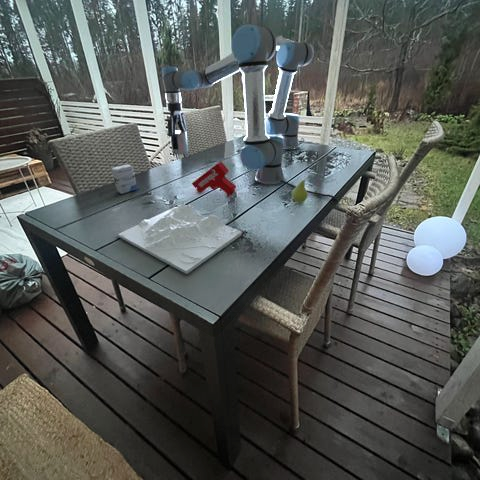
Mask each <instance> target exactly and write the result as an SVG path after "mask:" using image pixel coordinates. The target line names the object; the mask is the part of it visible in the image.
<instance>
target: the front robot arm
mask: <svg viewBox="0 0 480 480" xmlns="http://www.w3.org/2000/svg"><path fill="white" fill-rule="evenodd" d="M275 35H276V33H274V31H273V30H272V29H271V28H269V27H266V26H261V25H256V24H253V23H251V24H243V25H241V26H239V27H238V28H237V29H236V30H235V32H234V34H233V36H232V39H231V53H230V54H229V55H226V56H225V57H223V58H221V59H219V60H218V61H216V62H214V63H213V64H211V65H208V66H207V67H205V68H203V69H201V70H183V71H181V70H180V71H178V67H177V66H163V67H162V68H161V75H162V82H163V88H164V94H165V100H166V109H167V111H168V112H169V115H166V120H167V136H168V137H169V138H170V137H171V139H170V141H171V140H172V146H173V149H176V150H178V145H177V138H176V137H175V134H176V131H177V126H178V128H179V130H183V131H186V133H188V128H187V123H186V119H185V113H184V112H183V111H182V110H183V107H182V106H183V104H182V96H181V90H188V91H192V90H193V91H194V90H196V89H208V88H211V87H213V86H214V84H215V83H218V82H219V81H222V80H224V79H226V78H228V77H230V76H233V75H234V74H236V73H239V72H241V74H242V73H243V82H242V86H243V85H244V92H243V99H244V111H245V112H244V114H245V129H246V136H245V137H244V138H243V147H242V148H241V150H240V153H239V157H240V161H241V163H242V165H243V166H244V167H245V168H246V169H248V170H251V171H256V172H255V178H254V181H255V183H258V184H259V185H262V186H263V185H264V186H279V185H281V184H285V185H287V186H289V187H292V188H293V189H295V188H296V187H297V185H293V184H292V183H289V182H288V181H285V175H284V172H283V171H284V170H283V167H282V165H283V154H284V153H283V152H284V149H283V145H284V143H283V137H282V135H279V134H277V135H268V134H266V126H265V118H266V100H265V99H266V98H265V97H266V96H265V70H266V69H267V67H268V61H270V60H271V59H272V58H273V57H274V56H275V54H276V53H277V50H276V49H277V39H276V36H275ZM172 146H171V147H172ZM306 190H307V189H306ZM307 192H308V194H312V195H317V196H321V197H325V198H326V197H327V198H331V199H333V201H334V202H337V198H336V197H335V196H334V195H332V194H325V193H320V192H315V191H311V190H307Z"/></svg>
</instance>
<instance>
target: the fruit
mask: <svg viewBox="0 0 480 480" xmlns="http://www.w3.org/2000/svg"><path fill="white" fill-rule="evenodd" d="M310 177H311V175H310V174H309V175H308V176H307V177H305V179H302V180H301V181H300V182H298V184H297V185H296V188H293V190H292V191H291V198H292V200H293V201H294V202H295V203H297V204H301V203H304V202H305V201H306V200H307V198H308V196H309V195H308V194H309V193H308V192H307V189H306V184H305V183H306V180H308V179H309V178H310Z"/></svg>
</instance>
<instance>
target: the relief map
mask: <svg viewBox="0 0 480 480" xmlns="http://www.w3.org/2000/svg"><path fill="white" fill-rule="evenodd" d="M242 235H243V231H242V230H239V229H238V228H234V227H231V226H229V225H226V224H224V223H223V222H222V221H221V220H220V219H219V218H218V216H216V215H214V214H212V215H210V216H207V217H205V216H204V215H203V214H199V213H198V212H197V211H196V209H195V208H194V207H193V206H192V205H191V204H187V205H186V204H185V202H182V204H180V205H179V206H174V207H171V208H170V209H168V210H165V211H163V212H161V213H159V214H157V215H154V216H153V217H150V218H149V219H143V220H141V221H140V222H139V223H138V224H137V225H134V226H132V227H129V228H128V229H126V230H123V231H122V232H120V233H117V236H118V238H120V239H121V240H123V241H125V242H127V243H129V244H131V245H132V246H134V247H136V248H138V249H140V250H141V251H143V252H145V253H147V254H149V255H151V256H153V257H154V258H156V259H158V260H160V261H162V262H163V263H165V264H166V265H169V266H171V267H173V268H175V269H176V270H178V271H180V272H182V273H183V274H185V275H188V274H190V273H191V272H192V271H193V270H195V269H196V268H198V267H199V266H201V265H202V264H203V263H205V262H206V261H208V260H209V259H211V258H212V257H214V256H215V255H216V254H217V253H219V252H220V251H222V250H223V249H224V248H226V247H227V246H229V245H230V244H231V243H233V242H235V241H236V240H237V239H238V238H240V237H241V236H242Z"/></svg>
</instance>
